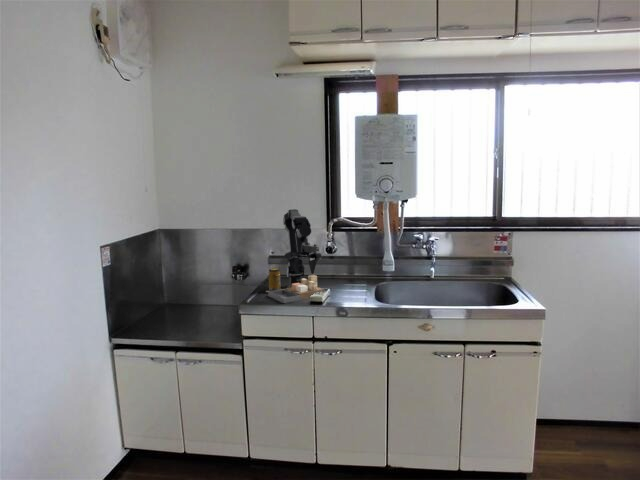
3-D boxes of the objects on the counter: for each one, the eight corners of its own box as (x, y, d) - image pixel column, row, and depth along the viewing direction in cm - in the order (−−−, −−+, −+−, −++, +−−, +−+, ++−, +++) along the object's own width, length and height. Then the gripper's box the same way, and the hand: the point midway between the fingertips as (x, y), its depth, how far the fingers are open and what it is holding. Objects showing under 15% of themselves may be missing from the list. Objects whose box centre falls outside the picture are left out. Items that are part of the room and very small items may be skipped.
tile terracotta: (291, 288, 229) (291, 283, 229) (298, 287, 231) (298, 282, 231) (295, 290, 226) (295, 285, 226) (302, 289, 228) (302, 284, 228)
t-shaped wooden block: (301, 286, 234) (300, 274, 233) (309, 284, 237) (309, 273, 236) (313, 290, 224) (313, 279, 223) (322, 289, 227) (321, 277, 226)
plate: (285, 294, 231) (285, 288, 230) (309, 289, 238) (309, 284, 238) (299, 300, 219) (299, 294, 218) (324, 295, 227) (324, 289, 226)
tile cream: (296, 290, 225) (296, 285, 225) (303, 289, 227) (303, 284, 227) (300, 292, 222) (300, 287, 221) (307, 291, 224) (307, 286, 224)
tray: (268, 296, 227) (268, 291, 226) (284, 293, 231) (284, 288, 231) (284, 303, 213) (283, 298, 213) (300, 300, 218) (300, 295, 218)
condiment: (276, 289, 241) (276, 267, 239) (286, 292, 234) (285, 269, 233) (265, 291, 236) (264, 269, 235) (274, 294, 230) (273, 271, 228)
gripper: (296, 236, 208) (300, 269, 204) (327, 239, 220) (331, 270, 216) (282, 242, 216) (285, 274, 212) (312, 244, 228) (316, 275, 225)
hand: (305, 273), depth 216 cm, fingers open, 9 cm apart
